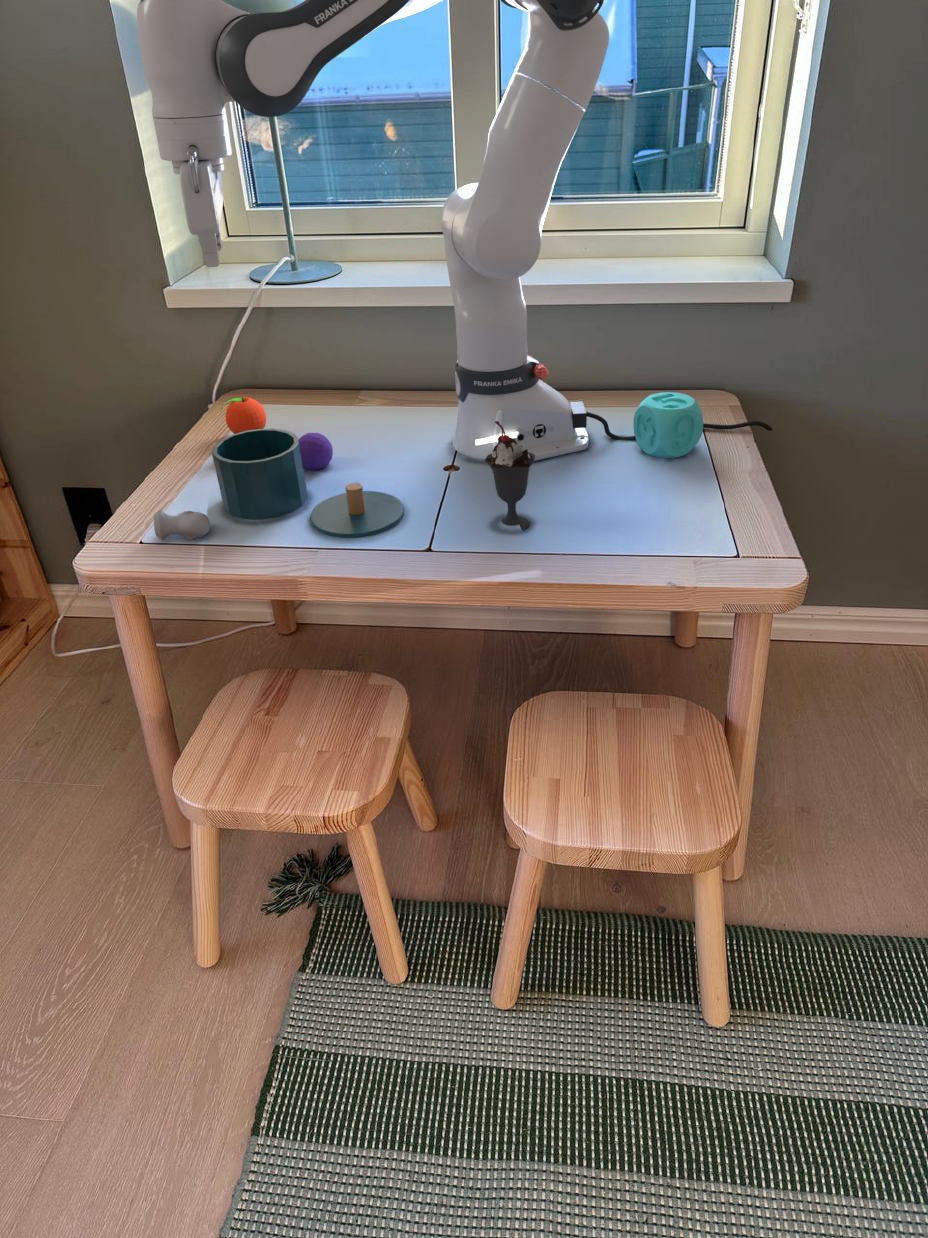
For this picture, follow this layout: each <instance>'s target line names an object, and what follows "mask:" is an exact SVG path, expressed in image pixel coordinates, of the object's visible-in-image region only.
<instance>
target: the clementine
mask: <svg viewBox="0 0 928 1238" xmlns="http://www.w3.org/2000/svg"><path fill="white" fill-rule="evenodd" d="M230 402H231V403H230ZM227 403H230V404H229V405H228V407H227V409H226V411H225V423H226V425H227V428H228V429H229V430H230V432H231V433H232V434H236V433H240V432H244V431H248V430H256V429H265V428H266V425H267V414H266V411H265V408H264V407H263V405H262V404H261V403H260V402H259V401H258V400H256V399H253V397H252V398H251V397H248V396H244V397H242V396H241V397H236V398H235V397H234V398H231V399H229V400H226V402H224V403H223V405H221V408H220V411H222V409H223V407H224V406H225V405H226V404H227Z"/></svg>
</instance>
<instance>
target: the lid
mask: <svg viewBox="0 0 928 1238" xmlns="http://www.w3.org/2000/svg"><path fill="white" fill-rule="evenodd" d="M404 514H405V513H404V505H403V502H402V501H401V500H400V499H399V498H397V497H395V496H394V495H392V494H389V493H386V492H382V491H373V490H364V488H363V485H362V483H361V482H360V483H359V482H352V483H348V484H346V485H345V493H340V494H336V495H333V496H331V497H328V498H327V499H324V500H322V501H321V502H319V504H317V505H316V506H315V507H313V509H312V511H311V513H310V522H311V525H312V527H313V528H314V529H315V530H317V531H318V532H320V533H322V534H324V535H328V536H331V537H335V538H336V537H337V538H350V539H351V538H362V537H369V536H372V535H376V534H380V533H383V532H385V531H388V530H389V529H391V528H393V527H395V525H397V524H399V522H400V521H401V520H402V518H403V516H404Z"/></svg>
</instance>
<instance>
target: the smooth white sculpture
mask: <svg viewBox="0 0 928 1238" xmlns="http://www.w3.org/2000/svg"><path fill="white" fill-rule="evenodd" d="M153 529H154V534H155V537H157V539H160V540H162V541H164V540H165V539H166V538H167V537H169V536H172V535H173V536H174V535H180V536H181V535H182V536H184V537H185V539H187V540H190V541H193V540H195V538H202V537H205V536H207V534H208V533H209V532H210V530H211V520H210V518H209V517H208V515H206V514H205V513H203V512H199V511H192V510H184V511H183V512H180V513H178V514H176V515H171V514H170V515H169V514H167V513H166V512H164V511H163V510H162V509H160V510H158V511H156V512H154V513H153Z"/></svg>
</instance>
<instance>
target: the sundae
mask: <svg viewBox="0 0 928 1238" xmlns="http://www.w3.org/2000/svg"><path fill="white" fill-rule="evenodd" d="M495 423H496V424H497V425H498V426H500V427H501V429H502V435H501V436H499V437H498V444H497V445H496V446H494V449H493V451H492V454H489V455H488V456H486V459H485V460H484V462H486V463H487V464H488V466H489V467H490V469H491V470H492V475H493V480H494V481H493V482H494V487H495V491H496V495H497V497H498V498H499V499H500V500H502V501H503V502H505V503H506V504H507V513H506V515H505V516H504V517H503V518H502V519H501V524H503V525H504V526H508V527H515V526H519V527H520V529H521V531H525V530H526V529H528V527H529V526H531V525H530V524H531V523H530V522H531V521H530V520H529V519H528V518H527V517H526V516H523V515H519V514H517V503H518V502H519V501H521V500H522V499H523V498H524V497H525V495H526V493H527V488H528V481H529V473H530V468H531V466H532V465H533V463H534V462H535V461H534V460H535V455H534V454H533V453H530V452H528V450H527V449H526V450H524V449H523V448H522V445H521V443H520V442H518V441H517V440H516V439H513V438H510V437H509V436H508V435H506V434H505V431H504V429H503V427H502V426H501V425H500V424H499V421H495ZM503 432H504V436H503Z"/></svg>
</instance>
